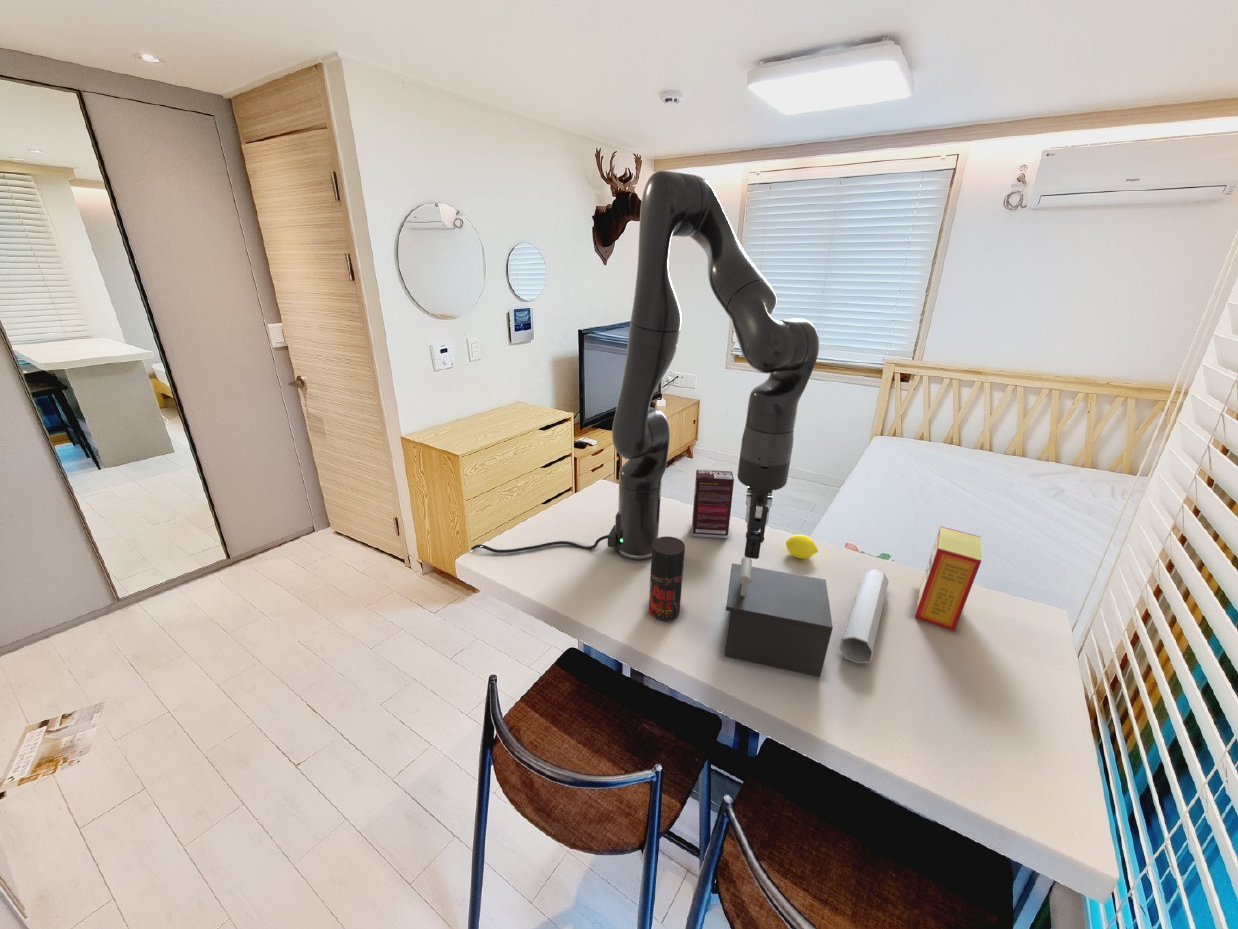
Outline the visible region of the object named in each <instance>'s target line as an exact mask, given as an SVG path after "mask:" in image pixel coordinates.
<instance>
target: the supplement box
mask: <svg viewBox="0 0 1238 929" xmlns="http://www.w3.org/2000/svg"><path fill="white" fill-rule="evenodd" d="M734 483H735V478H734V474H733V471H732V470H730V471H729V470H714V469H713V470H710V469H696V471H695V482H694V494H693V507H692V517H691V530H692V532H691V533H692V537H697V538H698V537H699V538H717V539H728V538H729V530H730V521H731V513H732V512H731V511H732V504H733V495H734V494H733V493H734Z"/></svg>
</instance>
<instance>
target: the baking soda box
mask: <svg viewBox="0 0 1238 929" xmlns="http://www.w3.org/2000/svg"><path fill="white" fill-rule="evenodd" d="M981 538H982V537H981V536H980V535H976V534H972V533H968V532H965V531H961V530H956V529H953V528H949V527H946V526H941V525H940V526H939V528H938V533H937V535H936V539H935V540H934V544H933V547H932V550H931V554H930V556H929V559H928V562H927V566H926V569H925V572H924V575H923V578H922V580H921V584H920V586H919V590H918V594H917V599H916V600H917V601H916V608H915V615H914V619H917V620H921V621H924V622H927V623H930V624H933V625H935V626H938V627H941V628H944V629H946V630H950V631H953V632H955V631H956V628H957V626H958V623H959V620H960V618H961V615H962V613H963V610H964V607H965V605H966V603H967V600H968V598H969V595H970V592H971V589H972V586H973V584H974V582H975V579H976V576H977V574H978V571H979V569H980V566H981V563H982V540H981Z"/></svg>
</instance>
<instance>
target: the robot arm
mask: <svg viewBox="0 0 1238 929" xmlns="http://www.w3.org/2000/svg"><path fill="white" fill-rule="evenodd" d="M720 202H721V201H720V200H719V198H718V196H717V194H716V192H715V190H714V188H713V187H712V185H711V184H710V182H708V181H707V180H706V179H705V178H704V177H701V176H699V175H696V174H691V173H690V174H689V173H684V172H677V171H670V170H657V171H655V172H654V173H652V174H651V176H650V177H649V178H648V180H647V181H646V184H645V186H644V189H643V192H642V197H641V203H640V210H639V228H638V229H639V231H638V251H637V252H638V254H637V267H636V268H637V269H636V277H635V279H636V280H635V286H634V295H633V296H634V297H633V303H632V310H631V316H630V321H629V330H628V337H627V338H628V339H627V348H626V357H625V361H624V362H625V363H624V368H623V377H622V382H621V388H620V392H619V397H618V400H617V405H616V409H615V413H614V417H613V421H612V428H611V439H612V443H613V447H614V449H615V451H616V453H617V454H618V455H619V456H620V457H621V458H624V459H626V460H627V461H626V462H625V463H624V464H623V465H622V466H621V467H620V468H619V472H618V504H617V505H618V507H617V508H618V511H617V512H616V514H615V520H614V522H615V524H614V525H613V526H612V528H611V530H610V531H609V533H608V534H606V535H603V536H601V537H599V538H597V539H596V540H595V542H594V543H593V545H588V546H584V545H581V544H578V543H575V542H572V541H567V540H557V541H552V542H546V543H541V544H536V545H531V546H523V547H518V548H511V549H510V548H509V549H497V548H493V547H490V546H488V545H484V544H481V543H479V544H475V545H473V546H472V547H470V550H471V551H474V550H476V549H481V548H482V549H484V550H487V551H490V552H491V553H496V554H508V553H509V554H510V553H517V552H523V551H529V550H537V549H541V548H545V547H551V546H557V545H568V546H572V547H575V548H579V549H583V550H592V549H595V548H597V547H598V545H599V543H600V542H601V541H603V540H606V539H607V547H608V548H613V549H614V553H618V554H620V555H621V556H622V557H624V558H627V559H629V560H634V561H635V560H636V561H642V560H643V561H644V560H647V559H651V556H652V543H653V541H654V540H655V539H657V538H659V533H660V532H659V531H660V515H661V513H660V512H661V497H662V483H663V482H662V480H663V476H664V474H665V472H666V469H667V465H668V457H669V448H670V434H671V433H670V426H669V422H668V419H667V417H666V416H665V414H664V413H663V412H662V411H661V409H659V408H656V407H651V402H652V400H653V396H654V394H655V392H656V390H657V388H658V386H659V385H660V383H661V381H662V380H663V379H664V376H665V374H666V373H667V371H668V369H669V368H670V366H671V364H672V362H673V360H674V358H675V355H676V352H677V350H678V349H677V348H678V343H679V338H680V332H681V328H682V327H681V326H682V310H681V307H680V304H679V300H678V297H677V294H676V291H675V289H674V286H673V284H672V283H673V282H672V280H671V276H670V270H669V257H670V246H671V241H672V237H681V238H682V237H683V238H686V237H687V238H688V237H690V238H691V239H692V240H694V242H696V243H697V244H698V246H700V247H701V248H702V250H703V251H704V253H705V254H706V257H707V277H708V283H709V286H710V288H711V291H712V293H713V295H714V296H715V298H716V300H717V301H718V303H719V304H720V306H721V307H722V308H723V310H724V311H725V313H726V314H727V316H728V317H729V318H730V319H731V323H732V326H733V329H734V333H735V336H736V339H737V343H738V345H739V348H740V349H739V350H740V352H741V354H742V356H743V358H744V360H745V361H746V363H747V364H748V365H749V366H750V367H751V368H752V369H754V370H755V371H757V372H759V373H763V374H769V376H768V378H767V379H766V380H765V381H764V382H762V383H761V384H758V385H756V387H754V388H753V389H752V390H751V391H750V394H749V397H748V403H747V411H746V412H747V413H746V418H745V420H746V421H745V425H744V428H743V429H744V430H743V432H742V438H741V443H740V452H739V460H738V467H737V468H738V469H737V479H738V481H739V482H740V483H741V484H742V485H744V486H745V487H746V488H747V489H746V496H745V497H746V499H745V505H746V511H745V518H744V521H745V523H747V524H746V529H747V531H745V538H746V539H745V547H744V557H747V558H751V559H753V560H757V559H759V557H760V552H761V545H762V543H764V541H765V531H766V526H767V525H768V523H769V517H770V508H771V507H772V506H773V491H778V490H780V489H782V488H784V487H785V486H786V485H787V483H788V476H789V471H790V466H791V459H792V453H793V448H794V432H795V425H796V420H797V414H798V405H799V402H800V400H801V397H802V396H803V393H804V392H805V389H806V387H807V385H808V383H809V381H810V378H811V375H812V373H813V371H814V370H815V369H814V368H815V367H816V363H817V360H818V357H819V353H820V352H819V351H820V339H819V333H818V331H817V329H816V327H815V326H814V324H813V323H812V322H811V321H809V320H807V319H805V318H788V319H774V318H773V317H772V316H771V315H772V314H773V313H774V311H775V310H776V307H777V304H778V303H777V302H778V299H777V295H776V293H775V291H774V289H773V288H772V286H771V284H770V283H769V282H768V281H767V279H766V278H765V277H764V275H763V274H762V273H761V271H760V270H759V268H757V266H756V265H755V264H754V262H753V261H752V259H751V258H750V257H749V256H748V254H747V253H746V251H745V250H744V248H743V247H742V244H741V243H740V241H739V239H738V237H737V235H736V233H735V231H734V229H733V226H732V224H731V223H730V221H729V219H728V217H727V215H726V213H725V211H724V208H723V207H722V204H721V203H720ZM480 546H483V547H480Z"/></svg>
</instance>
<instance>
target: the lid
mask: <svg viewBox="0 0 1238 929" xmlns="http://www.w3.org/2000/svg"><path fill="white" fill-rule="evenodd" d="M752 564H753V560H752V558H747V557H745V556H743V557H742V558H741V561H740V564H738V563H731V569H730V574H729V575H730V577H729V584H728V591H727V597H726V604H725V605H726V606H725V611H727V612H730V611H731V612H736V613H742V614H747V615H752V616H757V617H762V618H767V619H772V620H777V621H782V622H787V623H792V624H797V625H802V626H807V627H812V628H817V629H822V630H827V631H832V632H833V629H834V626H833V620H832V613H831V607H830V599H829V593H828V592H829V591H828V586H827V580H826V579H825V578H819V577H814V576H807V575H802V574H796V573H789V572H785V571H778V570H773V569H767V568H761V567H756V566H752Z"/></svg>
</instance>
